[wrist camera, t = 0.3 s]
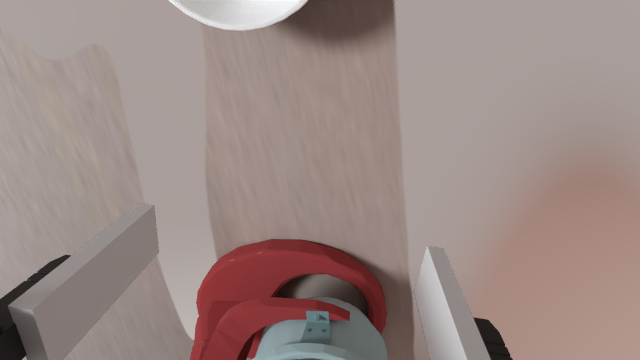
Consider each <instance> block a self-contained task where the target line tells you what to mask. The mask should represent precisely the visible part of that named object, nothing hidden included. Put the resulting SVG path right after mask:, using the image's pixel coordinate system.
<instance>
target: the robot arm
mask: <svg viewBox="0 0 640 360" xmlns="http://www.w3.org/2000/svg"><path fill="white" fill-rule="evenodd" d="M158 253H159V247H158V237H157V228H156V218H155V208H154V205H149V204H142V203H138V204H137V205H136V206H134V207H133V208H132V209H130V210H129V211H128V212H127V213H125V214H124V215H123V216H122V217H120V218H119V219H118V220H116V221H115V222H114V223H113V224H111V225H110V226H109V227H108V228H106V229H105V230H104V231H102V232H101V233H100V234H99V235H97V236H96V237H95V238H94V239H92V240H91V241H90V242H88V243H87V244H86V245H85V246H83V247H82V248H81V249H79V250H78V251H77V252H76V253H74V254H73V255H72V256H70V255H64V256H62V257H60V258H58V259H55V260H53V261H51V262H49V263H48V264H47V265H45V266H44V267H43V268H41V269H40V270H39V271H37V273H35V274H33V275H32V276H31V277H29V278H28V279H27V281H24V282H23V283H21V284H20V285H19V286H17V287H16V288H15V289H13V290H12V291H11V292H9V293H8V294H7V295H5V296H4V297H3V298H1V299H0V360H22V359H23V358H24V357H25V356H26V357H27V360H63V359H64V358H65V357H66V356H67V355H68V353H69V352H70V351H71V350H72V349H73V348H74V347H75V346H76V344H77V343H78V342H79V341H80V340H81V339H82V338H83V337H84V336H85V334H86V333H87V332H88V331H89V330H90V329H91V328H92V327H93V325H94V324H95V323H96V322H97V321H98V320H99V319H100V318H101V316H102V315H103V314H104V313H105V312H106V311H107V310H108V309H109V308H110V306H111V305H112V304H113V303H114V302H115V301H116V300H117V299H118V297H119V296H120V295H121V294H122V293H123V292H124V291H125V290H126V288H127V287H128V286H129V285H130V284H131V283H132V282H133V281H134V280H135V278H136V277H137V276H138V275H139V274H140V273H141V272H142V271H143V269H144V268H145V267H146V266H147V265H148V264H149V263H150V262H151V261H152V259H153V258H154V257H155V256H156V255H157V254H158ZM414 294H415V299H416V303H417V307H418V311H419V315H420V319H421V324H422V328H423V332H424V337H425V341H426V345H427V349H428V354H429V358H430V360H512V358H510V353H509V352H508V349H507V348H506V347H505V343H504V341H503V339H502V337H501V335H500V333H499V332H498V330H497V329H496V328H495V327H494V326H493V325H492V324H491V323H490V321H489V320H486V319H479V318H473V316H472V314H471V311H470V309H469V307H468V304H467V302H466V300H465V297H464V295H463V292H462V290H461V288H460V285H459V283H458V281H457V279H456V276H455V273H454V271H453V269H452V267H451V264H450V262H449V259H448V257H447V255H446V252H445V250H444V248H439V247H432V246H427V249H426V252H425V255H424V259H423V262H422V265H421V269H420V272H419V275H418V279H417V282H416V285H415V289H414Z"/></svg>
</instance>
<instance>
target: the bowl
mask: <svg viewBox="0 0 640 360" xmlns="http://www.w3.org/2000/svg"><path fill="white" fill-rule="evenodd" d="M169 1H170V2H171V3H173V4H174V5H175V6H176V7H178V8H179V9H180V10H181V11H183V12H184V13H185V14H187V15H188V16H190V17H192V18H194V19H196V20H198V21H200V22H202V23H204V24H206V25H209V26H213V27H216V28H220V29H224V30H234V31H249V30H255V29H262V28H266V27H268V26H271V25H273V24H276V23H278V22H281V21H283V20H285V19H286V18H288V17H289V16H290V15H292V14H293V13H295V12H296V11H298V10H299V9H301V8H302V7H303V6H304V5H305V4H306V3H307V1H308V0H169Z"/></svg>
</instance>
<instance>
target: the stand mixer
mask: <svg viewBox="0 0 640 360" xmlns="http://www.w3.org/2000/svg"><path fill="white" fill-rule="evenodd" d="M306 274H328V275H331V276H334V277H337V278H339V279H342V280H345V281H348V282H350V283H351V284H352V285H354V286H355V287H356V288H357V289H358V290H359V291H360V292H361V293H362V294H363V296H364V297H365V298H366V300H367V303H368V305H369V311H368V315H367V317H366V316H365V315H364V314H363V313H362V312H361V311H360V310H359V309H358V308H356V307H354V306H353V305H351V304H349V303H347V302H344V301H341V300H339V299H336V298H333V297H321V296H319V297H312V298H306V299H296V298H278V297H277V294H278V291H279V290H280V289H281V287H282V286H283V285H284V284H285V283H287V282H288V281H290V280H291V279H293V278H296V277H299V276H303V275H306ZM196 303H197V309H198V314H199V317H198V319H197V323H196V328H195V340H194V346H193V348H192V352H191V356H190V360H246V359H247V357H249V358H251V359H252V360H388V357H387V350H386V346H385V342H384V340H383V338H382V336H381V334H382V331H383V329H384V327H385V324H386V306H385V298H384V295H383V291H382V288H381V286H380V284H379V282H378V281H377V279H376V278H375V277H374V275H373V274H372V273H371V272H370V271H369V270H368V269H367V268H366V267H365V266H364V265H363V264H362V263H360V262H358V261H357V260H355V259H353V258H352V257H350V256H348V255H346V254H345V253H343V252H341V251H339V250H337V249H335V248H331V247H327V246H323V245H320V244H316V243H311V242H307V241H303V240H267V241H263V242H258V243H254V244H250V245H245V246H241V247H239V248H236V249H235V250H233V251H231V252H230V253H228V254H226V255H224V256H223V257H221V258H220V259H219V260H218V261H217V262H216V263H215V264H214V265H213V266H212V268H211V269H210V271H209V272H208V274H207V275H206V277H205V278H204V280H203V282H202V284H201V286H200V288H199V290H198V294H197V302H196Z"/></svg>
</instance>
